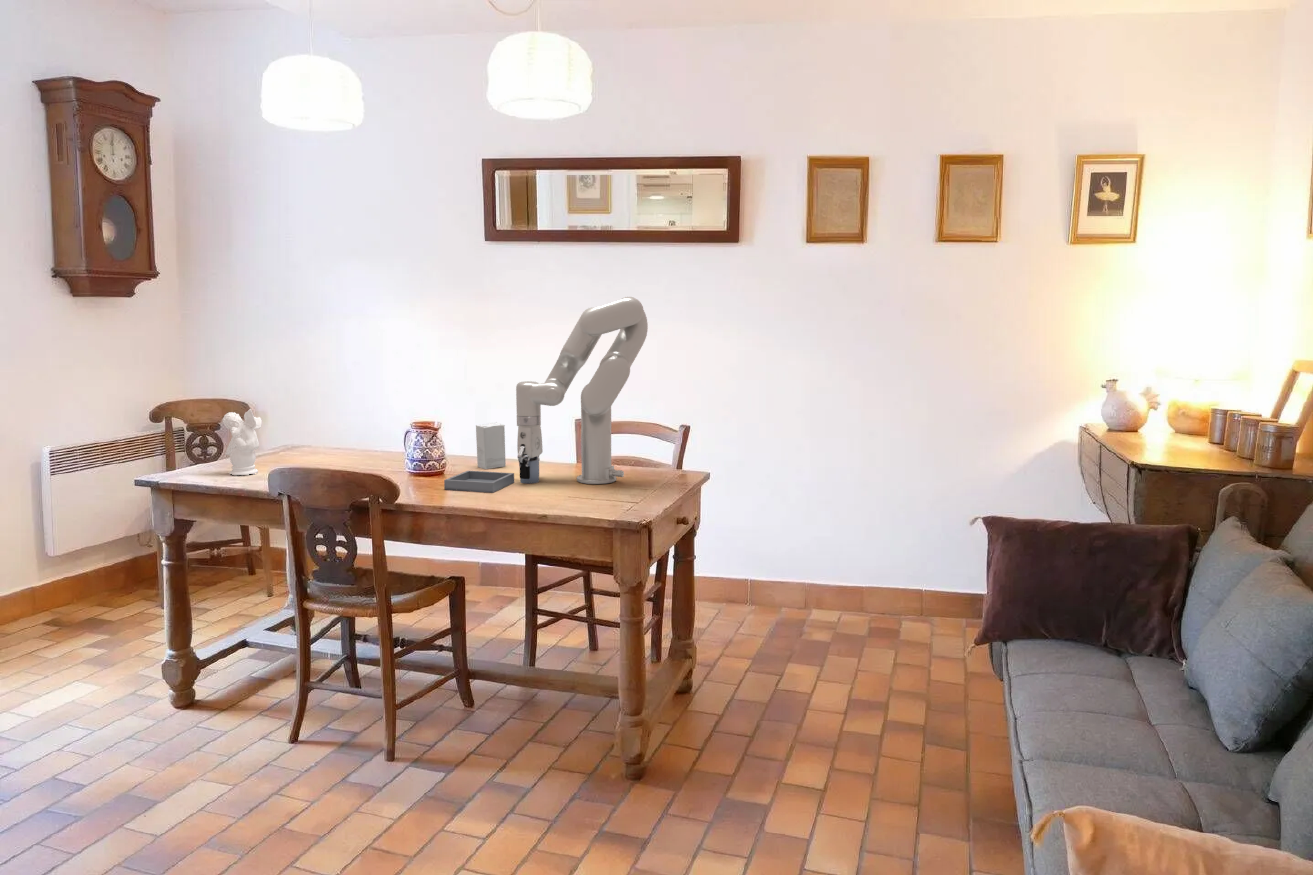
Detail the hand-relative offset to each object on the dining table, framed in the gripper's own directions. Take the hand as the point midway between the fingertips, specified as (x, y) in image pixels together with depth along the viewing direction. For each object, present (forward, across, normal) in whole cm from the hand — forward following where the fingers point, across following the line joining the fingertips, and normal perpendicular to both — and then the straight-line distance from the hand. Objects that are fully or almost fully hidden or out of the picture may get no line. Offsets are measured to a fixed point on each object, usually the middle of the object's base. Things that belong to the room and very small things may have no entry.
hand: (529, 475), depth 308 cm
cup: (+2, 0, 0) cm, 2 cm away
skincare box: (+2, +19, +22) cm, 29 cm away
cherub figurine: (+2, -13, +94) cm, 95 cm away
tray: (+2, -11, +12) cm, 16 cm away
